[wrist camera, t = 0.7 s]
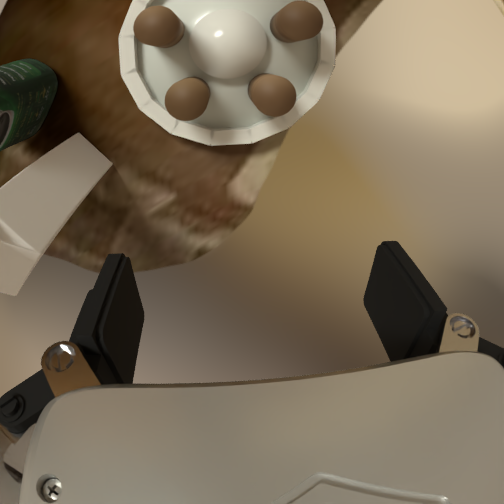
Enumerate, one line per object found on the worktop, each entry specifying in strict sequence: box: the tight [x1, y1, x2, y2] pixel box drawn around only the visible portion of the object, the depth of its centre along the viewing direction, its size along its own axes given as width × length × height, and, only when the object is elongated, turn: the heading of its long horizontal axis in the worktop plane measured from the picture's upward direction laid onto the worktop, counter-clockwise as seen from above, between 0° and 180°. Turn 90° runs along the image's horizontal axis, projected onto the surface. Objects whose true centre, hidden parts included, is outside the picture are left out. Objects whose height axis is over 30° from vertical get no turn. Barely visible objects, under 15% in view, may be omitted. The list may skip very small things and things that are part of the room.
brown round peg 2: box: [270, 1, 323, 43], centre depth 24 cm, size 4×4×6 cm
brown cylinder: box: [133, 6, 185, 48], centre depth 23 cm, size 4×4×6 cm
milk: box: [0, 133, 113, 296], centre depth 25 cm, size 6×6×22 cm
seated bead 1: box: [165, 77, 210, 121], centre depth 28 cm, size 4×4×6 cm
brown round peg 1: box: [248, 73, 296, 117], centre depth 28 cm, size 4×4×6 cm
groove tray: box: [119, 0, 336, 146], centre depth 27 cm, size 22×22×2 cm
